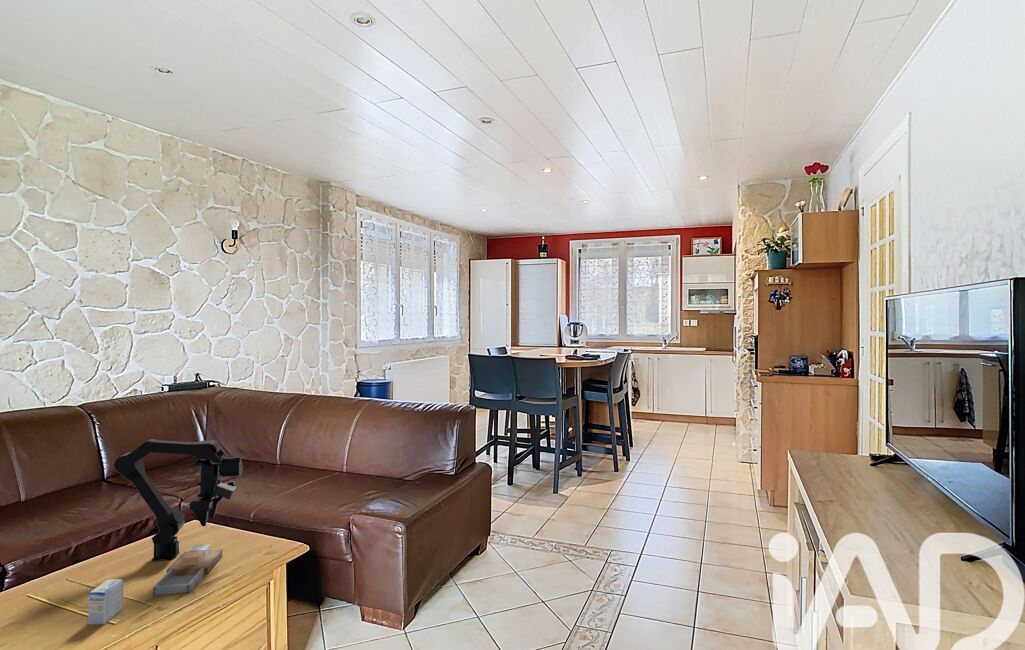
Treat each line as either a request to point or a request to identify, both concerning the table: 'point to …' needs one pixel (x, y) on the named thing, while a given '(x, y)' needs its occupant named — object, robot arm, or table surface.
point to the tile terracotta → (192, 558)
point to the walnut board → (206, 563)
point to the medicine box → (105, 601)
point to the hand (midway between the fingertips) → (208, 522)
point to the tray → (177, 583)
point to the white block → (201, 549)
